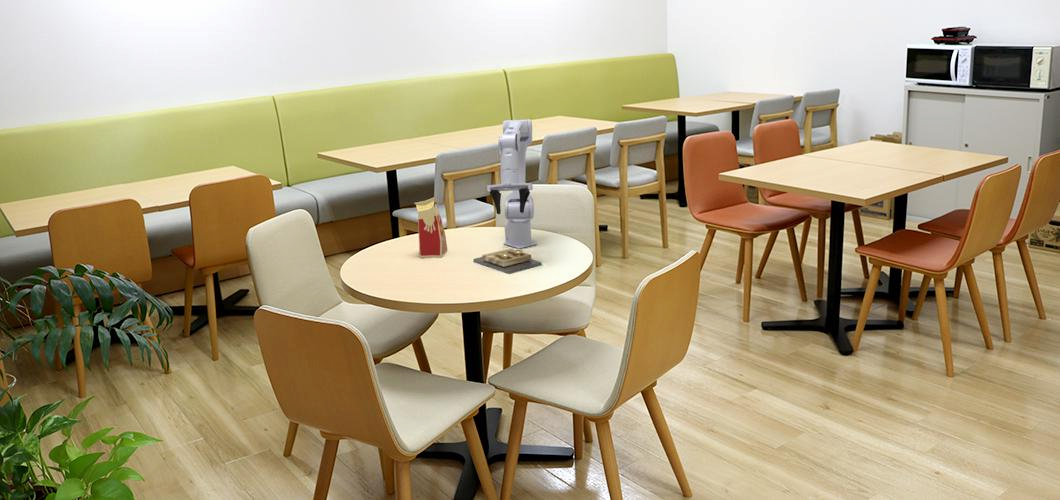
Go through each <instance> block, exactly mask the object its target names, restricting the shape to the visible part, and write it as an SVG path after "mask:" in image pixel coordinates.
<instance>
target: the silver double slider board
mask: <svg viewBox="0 0 1060 500" xmlns="http://www.w3.org/2000/svg"><path fill="white" fill-rule="evenodd" d="M514 250H515V251H514V254H516V255H517V257H519V256H520V254H523V252H524V251H523V250H522V249H514ZM508 257H510V254H509V253H503V254H501V258H504V260H507V258H508ZM472 260H473V261H472V262H473V263H476V264H478V265H482V266H484V267H488V268H490V269H493V270H496V271H499V272H502V273H505V274H508V275H510V274H513V273H518V272H522V271H524V270H529V269H532V268H536V267H540V266H542V265H543V264H542V261H539V260H536V259H533V258H531V260H528V261H524V262H520V263H516V264H513V265H509V266H505V267H503V266H500V265H497V264H494V263H491V262H488V261H485V260H483V258H482V256H481V257H480V256H479V257H476V258H475V257H474V258H473V259H472Z"/></svg>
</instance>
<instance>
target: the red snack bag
mask: <svg viewBox="0 0 1060 500" xmlns="http://www.w3.org/2000/svg"><path fill="white" fill-rule="evenodd" d="M413 204H414V205H415V206H416V209H417V224H418V248H419V249H418V257H419V258H420V259H424V258H425V259H427V258H429V259H430V258H431V259H433V258H436V259H437V258H442V257H443V256H444V255H445V254H446V253H447V252H448V244H447V237H446V233H445V229H444V224H443V220H442V217H441V214H440V211H439V209H438V206H437V203H436V197H434V196H433V197H432V198H429V199H426V200H422V201H418V202H414V203H413Z"/></svg>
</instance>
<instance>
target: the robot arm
mask: <svg viewBox="0 0 1060 500" xmlns="http://www.w3.org/2000/svg"><path fill="white" fill-rule="evenodd" d="M497 141H498V145H497V146H498V150H499V157H500V183H498V184H489V185H486V189H487V192H488V193H489V194H490V197H491V198H492V200H493V203H494V206H495V210H496V214H497V215H501V214H502V212H501V211H502V209H501V198H502V193H501V192H509V191H511V192H510V194H508V195H507V196H505V202H504V217H505V219H506V222H505V223H504V237H505V238H504V239H505V242H503V245H506V246H509V247H511V248H515V249H517V250H521V249H525V248H529V247H531V246H536V245H538V243H537V242H535V241H532V223H531V222H532V221H531V220H532V219H534V217H535V205H534V198H533V196H532V195H531V192H530V191H532V190H533V183H532V182H526V168H527V166H526V163H527V162H526V159H527V158H526V154H527V149H528V147H529V146H531V145H532V143H533V142H532V141H533V122H532V120H531V119H530V118H528V119H508V120H507V119H504V121H503V122H502V134H501V135H499V136H498V139H497Z"/></svg>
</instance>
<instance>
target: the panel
mask: <svg viewBox="0 0 1060 500" xmlns="http://www.w3.org/2000/svg"><path fill="white" fill-rule="evenodd" d="M515 250H516V249H514V248H505V249H500V250H496V251H493V252H489V253H486V254H482V255H481V257H482V258H483V260H485V261H488V262H491V263H494V264H497V265H500V266H503V267H505V266H509V265H513V264H516V263H520V262H524V261H528V260H531V259H532V254H529V253H526V252H524V251H523V254H520V256H519V257H517V255H516V254H514V251H515ZM503 253H509V254H510V257H508V258H507V260H504V258H501V254H503Z"/></svg>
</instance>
